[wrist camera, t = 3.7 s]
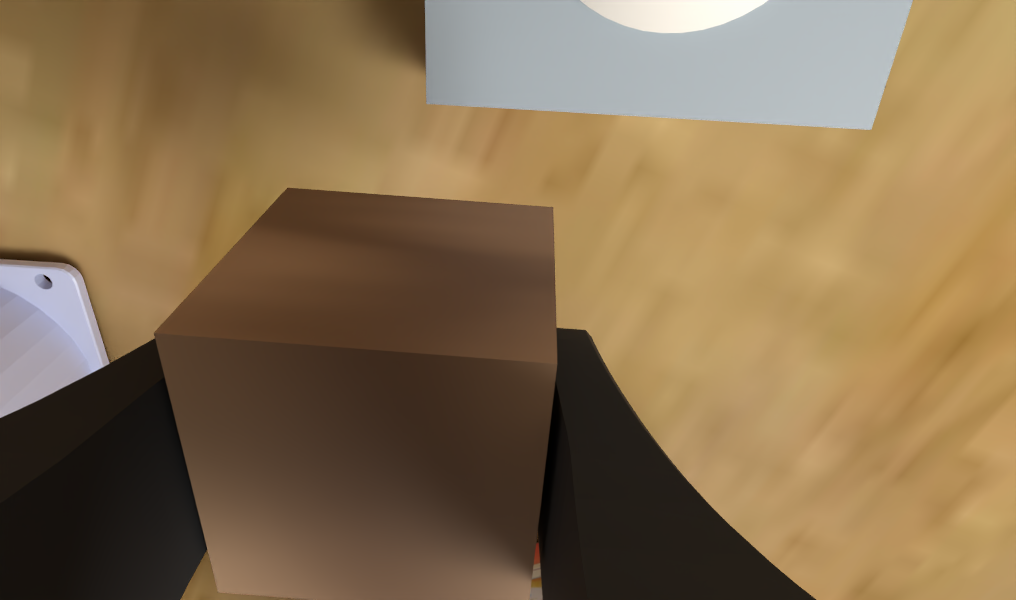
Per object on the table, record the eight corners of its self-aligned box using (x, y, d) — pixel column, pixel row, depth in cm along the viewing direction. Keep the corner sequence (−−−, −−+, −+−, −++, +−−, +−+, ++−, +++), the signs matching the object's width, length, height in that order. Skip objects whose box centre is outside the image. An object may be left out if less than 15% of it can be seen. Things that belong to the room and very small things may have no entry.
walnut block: (310, 397, 14) (217, 592, 10) (287, 187, 11) (154, 333, 7) (532, 414, 14) (527, 617, 10) (552, 207, 11) (556, 364, 7)
